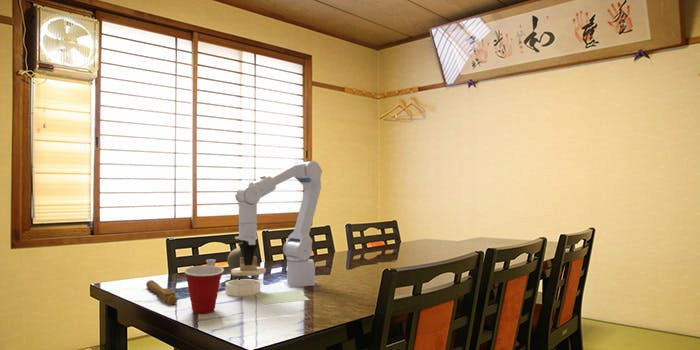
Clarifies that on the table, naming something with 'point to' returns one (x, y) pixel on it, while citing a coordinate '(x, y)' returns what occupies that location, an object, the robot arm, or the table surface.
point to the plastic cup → (203, 287)
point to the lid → (248, 269)
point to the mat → (281, 297)
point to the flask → (212, 263)
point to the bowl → (242, 287)
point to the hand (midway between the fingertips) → (247, 264)
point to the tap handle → (162, 292)
